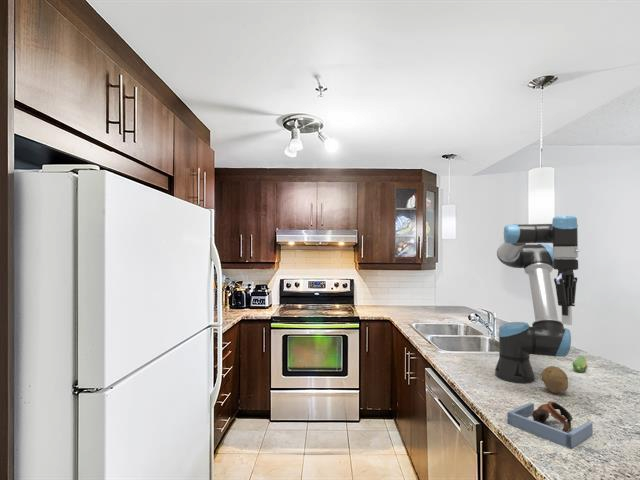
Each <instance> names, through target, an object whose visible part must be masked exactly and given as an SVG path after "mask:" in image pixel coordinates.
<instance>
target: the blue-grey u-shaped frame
mask: <svg viewBox="0 0 640 480" xmlns="http://www.w3.org/2000/svg"><path fill="white" fill-rule="evenodd" d="M533 411H535V404H534V403H533V402H528V403H525V404H523V405H521V406H519V407H516V408H514V409H512V410H509V411H507V412H506V413H507V414H506V415H507V417H506V418H507V425H509V426H512V427H515V428H518V429H520V430H523V431H524V432H528V433H531V434H533V435H535V436H538V437H541V438H543V439H545V440H548V441H551V442H553V443H555V444H558V445H560V446H563V447H566V448H568V449H570V450H572V449H574V448H575V447H577V446H578V445H580V444H581V443H583V442H584V441H586V440H587V439H589V438H590V437H592V436H593V435H594V434H593V432H594V431H593V429H594V427H593V422H591V421H586V422H584V423H583V424H581V425H579V426H577V427H576V428H574V429H573V430H570V431H569V432H568V431H567V432H564V431H562V430H560V429H558V428H555V427H554V426H550V425H547V424H545V423H544V424H542V423H540V422H537V421H534V419H532V418H529V417H531V416H532V414H533Z"/></svg>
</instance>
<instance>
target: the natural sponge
mask: <svg viewBox="0 0 640 480" xmlns="http://www.w3.org/2000/svg"><path fill="white" fill-rule="evenodd" d="M540 377H541V380H542V382H543V384H544V386H545V387H546V388H547V390H548V391H550V392H551V393H552V394H560V393H562V392H563V393H565V392H566V391H567V390H569V379H568V375H567V373H566V372H565V370H563V369H561V367H558V366H555V365H554V366H553V365H551V366H548V367H546V368H544V369H543V370H542V372H541V375H540Z"/></svg>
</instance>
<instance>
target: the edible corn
mask: <svg viewBox="0 0 640 480" xmlns="http://www.w3.org/2000/svg"><path fill="white" fill-rule="evenodd" d="M587 365H588V361H587V360H586V357H585V356H584V355H580V356H579V357H578V358H577V359H575V360H574V361H573V362H572V367H573V369H574V371H575V372H578V373H583V372H584V371H585V370H586V369H587Z"/></svg>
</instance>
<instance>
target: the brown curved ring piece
mask: <svg viewBox="0 0 640 480" xmlns="http://www.w3.org/2000/svg"><path fill="white" fill-rule="evenodd" d="M557 410H559V412H558V411H557ZM531 416H532V418H533V419H532V420H534V421H537V422H540V423H542V424H545V422H546V421H547V420H548V419H549V418H550V417H553V418H554V419H555V420H557V421H559V422H560V423H562V424H563V429H562V430H561V431H564V432H567V433H568V431H569V430H571V427H572V421H573V417H572V415H571V414H570V412H569V411H568V410H567V409H566V408H565V407H563V406H562V405H560V404H559V403H557V402H555V401H548V402H547V403H543V404H541V405H540V406H538V407H537V409H534V411H533V414H532V415H531Z"/></svg>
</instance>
